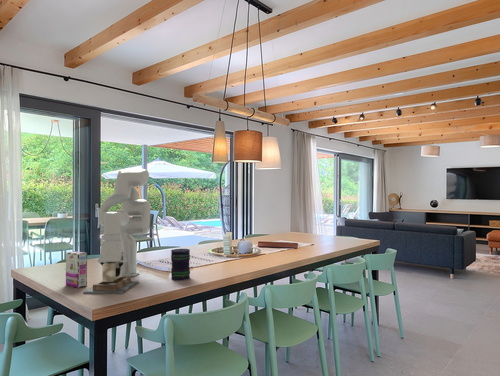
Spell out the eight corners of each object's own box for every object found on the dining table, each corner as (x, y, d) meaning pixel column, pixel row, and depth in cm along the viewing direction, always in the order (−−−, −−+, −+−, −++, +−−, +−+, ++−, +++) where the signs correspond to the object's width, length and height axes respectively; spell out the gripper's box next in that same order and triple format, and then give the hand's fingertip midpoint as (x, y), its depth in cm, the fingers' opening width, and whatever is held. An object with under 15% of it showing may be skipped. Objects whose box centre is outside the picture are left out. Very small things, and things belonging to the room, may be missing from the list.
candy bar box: (87, 286, 176) (87, 252, 176) (78, 288, 172) (78, 254, 172) (74, 283, 182) (74, 250, 182) (65, 285, 178) (65, 252, 178)
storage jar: (172, 276, 195) (172, 248, 195) (190, 275, 196) (190, 248, 196) (169, 280, 185) (169, 251, 185) (189, 280, 186) (188, 251, 186)
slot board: (103, 282, 182) (103, 275, 182) (138, 282, 181) (138, 275, 181) (83, 293, 162) (83, 285, 162) (122, 293, 161) (122, 286, 161)
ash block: (102, 281, 166) (102, 264, 166) (112, 276, 177) (112, 260, 177) (111, 281, 166) (111, 264, 166) (121, 276, 177) (121, 260, 177)
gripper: (91, 238, 169) (91, 277, 168) (126, 238, 168) (126, 277, 167) (98, 237, 176) (98, 274, 176) (132, 236, 175) (132, 274, 175)
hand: (112, 275), depth 172 cm, fingers closed on ash block, 4 cm apart
